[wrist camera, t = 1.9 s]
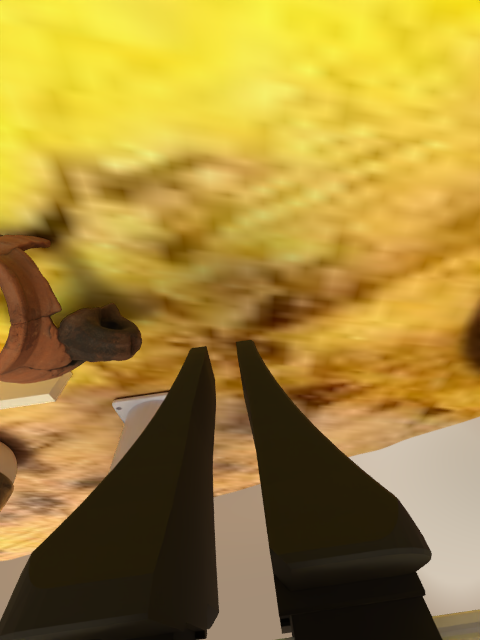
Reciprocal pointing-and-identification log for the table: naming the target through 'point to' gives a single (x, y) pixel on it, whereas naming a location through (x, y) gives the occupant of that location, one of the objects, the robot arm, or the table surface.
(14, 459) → the black egg shaped dome
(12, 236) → the brown hollow round piece
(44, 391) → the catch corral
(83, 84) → the table surface
